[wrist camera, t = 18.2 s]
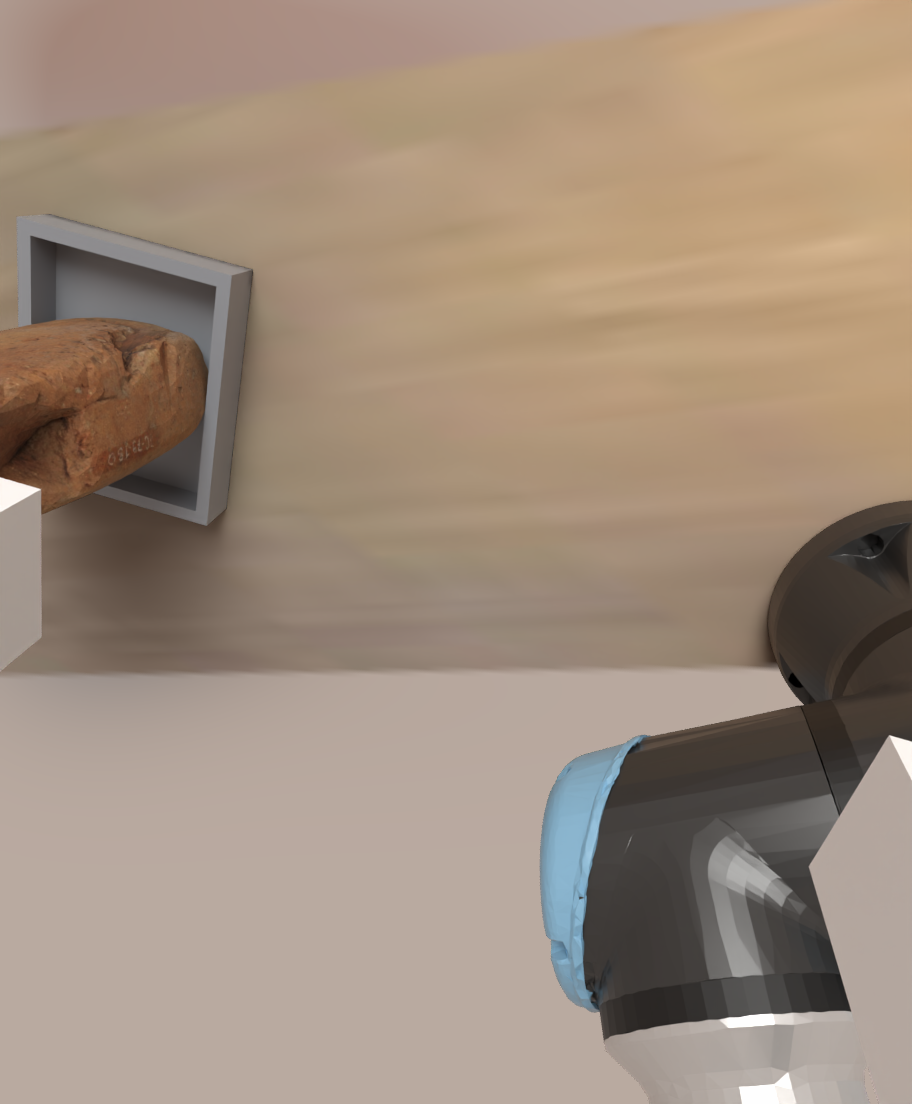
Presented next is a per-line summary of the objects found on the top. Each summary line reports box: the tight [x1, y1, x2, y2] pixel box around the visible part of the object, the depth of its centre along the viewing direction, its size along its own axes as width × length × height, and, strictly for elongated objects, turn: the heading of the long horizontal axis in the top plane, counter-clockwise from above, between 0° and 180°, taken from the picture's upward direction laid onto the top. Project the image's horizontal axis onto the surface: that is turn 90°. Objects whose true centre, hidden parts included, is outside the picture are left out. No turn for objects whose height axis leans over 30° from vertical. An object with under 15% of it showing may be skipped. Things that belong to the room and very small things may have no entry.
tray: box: [17, 214, 253, 526], centre depth 49 cm, size 13×16×3 cm
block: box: [0, 317, 209, 515], centre depth 41 cm, size 11×8×20 cm
